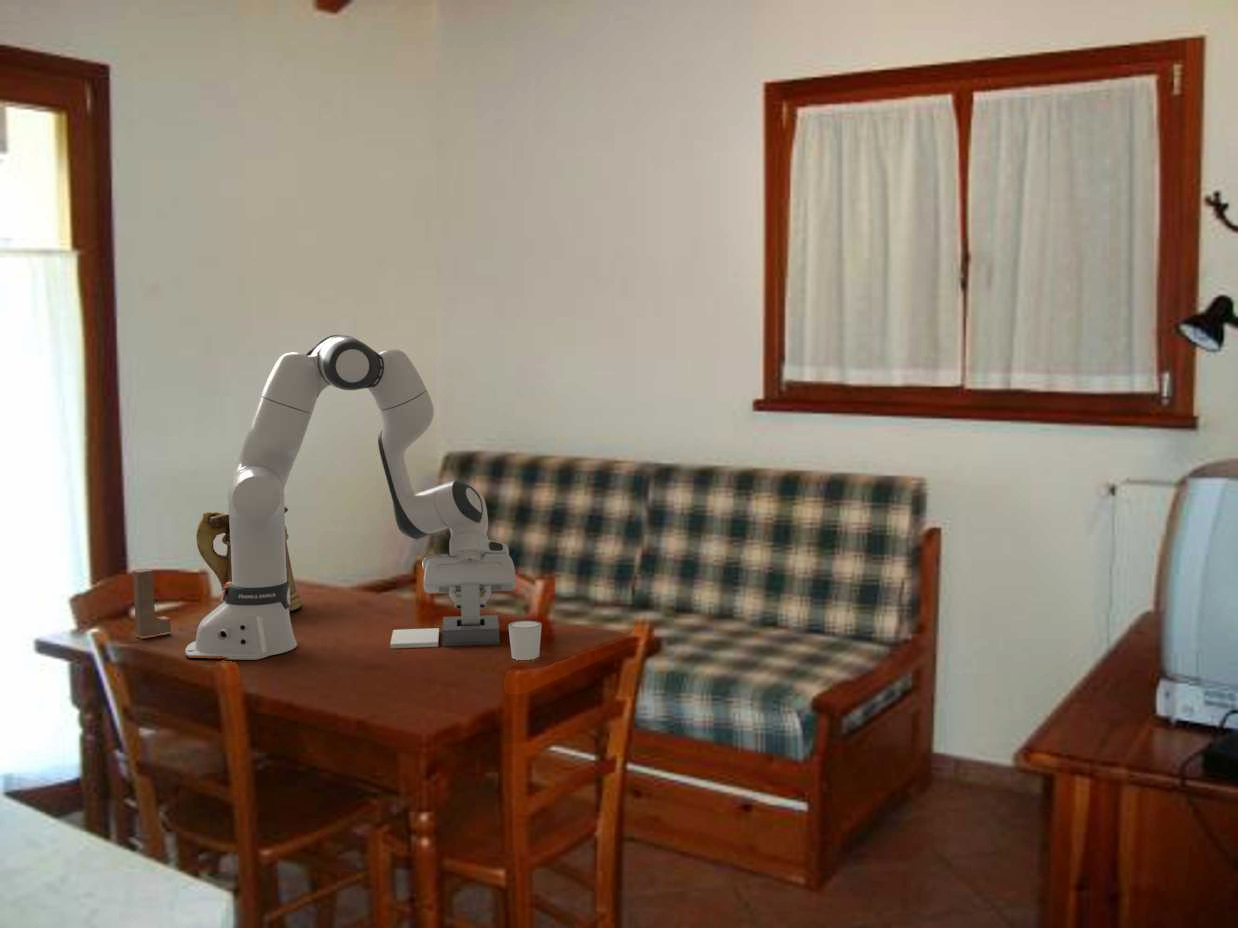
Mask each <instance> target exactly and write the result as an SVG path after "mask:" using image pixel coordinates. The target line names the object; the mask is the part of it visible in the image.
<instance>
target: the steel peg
mask: <svg viewBox="0 0 1238 928" xmlns="http://www.w3.org/2000/svg"><path fill="white" fill-rule="evenodd" d="M480 593H481V592H480V591H479V582H475V583H461V592H460V598H461V608H460V612H461V615H460V616H461V624H462V626H480V616H481V608H480V597H481V596H480Z"/></svg>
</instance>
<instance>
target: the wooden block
mask: <svg viewBox="0 0 1238 928" xmlns="http://www.w3.org/2000/svg"><path fill="white" fill-rule="evenodd" d="M153 572H154V571H153V570H152V569H150V568H147V567H146V568H141V569H140V568H139V569H134V570H132V580H133V581H132V582H133V597H134V600H133V601H134V616H135V617H134V619H135V634H136V633H137V634H138V635H139V636H149V635H156V634H160V633H165V632H172V631H171V619H170V617H167V616H165V615H163V616H157V615H156V611H155V609H156V607H155V591H154V587H155V586H154V573H153Z"/></svg>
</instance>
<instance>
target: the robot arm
mask: <svg viewBox="0 0 1238 928" xmlns="http://www.w3.org/2000/svg"><path fill="white" fill-rule="evenodd" d="M330 386H332V387H334V388H336V389H340V390H345V391H357V390H364V389H367V390H368V391H369V392H370V394H371V395H372V396H373V398H374V400H375V404H376V405H377V407H378V410H379V412H380V415H381V418H382V430H381V431H380V432H379V433H378V436H377V443H378V450H379V454H380V456H379V457H380V459H381V463H382V467H383V470H384V474H385V477H386V482H387V484H388V490H389V492H390V493H389V494H390V497H391V500H392V503H393V504H392V506H393V512H394V518H395V522H396V525H397V527H398V530H399V531H400V532H401V534H404V535H405V536H406V537H408V538H411V539H413V540H420V539H423V538H425V537H427V536H431V535H432V534H434V533H436V532H437V533H438V532H440V531H443V530H447V529H449V531H450V538H449V543H448V544H449V553H441V554H434V553H433V554H429V555H428V556H426V557H424V558H423V559H422V565H421V566H422V568H421V569H422V570H423V572H424V574H423V590H424V591H425V593H426V594H449V598H450V599H451V600H452V602H453V603H454V609H461V597H457V594H456V593H461V583H475V582H479V591H480V593H483V592H484V595H483V596H480V609H482V608H487V601H488V600H489V599H490V597H491V595H492V592H510V591H511V592H512V591H513V590H515V588H516V586H517V575H516V569H515V564H514V561H513V559H512V557H511V555H510V553H509V552H510V551H509V547H508V546H509V545H508V544H506V543H503V542H499V541H494V540H492V539H489V536H488V535H487V533H488V530H489V519H488V518H489V517H488V509H487V504H486V501H485V498H484V496H483V494H482V493H481V491H479V490H478V489H476V488H473V487H472V486H471V485H469V484H467V483H466V482H464V481H462V480H458V479H457V480H456V479H455V480H452V481H449V482H446V483H442V484H439V485H436V486H434V487H432V488H431V487H430V488H427V489H424V490H423V491H419V492H418V491H414V490H413V488H412V485H411V480H410V476H409V473H408V470H407V466H406V463H405V462H406V461H405V453H406V452H407V449H408V448H409V447H411V445H412V444H413V443H415V442H416V441H417V440H418V439H419V438H421V437H422V436H423V434H425V432H426V431H427V430H428V429H429V427H430V426H431V423H432V421H433V419H434V412H435V411H434V410H435V409H434V405H433V402H432V399H431V396H430V394H429V391H428V390H427V388H426V385H425V383H424V381H423V379H422V377H421V375H420V374H419V372H418V371H417V369H416V367H415V365H414V363H413V362H412V361H411V360H410V358H409V357H408V356H407V354H406V353H405V352H404V351H402V350H400V349H392V348H390V349H385V350H382V351H380V352H376V351H375V350H374V349H373V348H371V347H370V346H368V345H367V344H366V343H364V342H363V341H360V340H359V339H357V338H356V337H353V336H350V335H344V334H343V335H342V334H334V335H330V336H327V337H325V338H324V339H322V340H321V341H320V342H318V343H317V344H316V345H315V346H314V347H312V349H311V350H309V351H308V352H307V353H306V354H305V353H301V352H287V353H284V354H282V355H281V356H280V357H279V358H278V359H277V361H276V363H275V364H274V366H273V368H272V370H271V371H270V373H269V375H268V376H267V379H266V382H265V383H264V386H263V388H262V391H261V394H260V396H259V399H258V402H257V405H256V408H255V411H254V413H253V416H252V420H251V422H250V426H249V428H248V431H247V434H246V436H245V439H244V442H243V445H242V446H241V450H240V451H239V454H238V455H239V456H238V457H237V460H236V463H235V466H234V469H233V472H232V474H231V477H230V480H229V484H228V492H227V502H228V512H229V525H230V543H231V565H232V582H227V583H226V584H225V585H224V587H223V591H221V592H222V595H221V596H223V600H224V602H223V603H222V604H221V603H220V604H221V605H220V604H219V605H218V606H217V607H215V609H213V610H212V611H211V612H210V613H208V614H207V615H206V616H205V617H203V619H202V620H201V621H200V623H199V624H198V626H197V630H196V637H195V640H194V641H192V642H190V643H189V644H188V645H187V646H186V648H185V651H184V654H185V653H186V655H188V656H223V657H227V658H229V659H228V660H246V661H247V660H249V661H250V660H255V661H256V660H261V659H264V658H266V657H270V656H273V655H278V654H279V655H280V654H284V653H287V652H289V651H292V650H293V649H295V648H296V647H297V646H298V643H297V640H296V638H295V635H294V630H293V627H292V622H291V615H290V612H289V606H290V587H289V581H288V580H287V576H286V550H285V526H286V521H285V519H286V518H285V517H286V515H285V509H284V506H285V491H284V490H285V487H286V484H287V481H288V479H289V476H290V474H291V472H292V469H293V466H294V464H295V461H296V459H297V456H298V454H299V452H300V449H301V447H302V444H303V441H304V438H305V436H306V432H307V430H308V426H309V423H310V421H311V419H312V415H313V412H314V410H315V406H316V403H317V399H318V398H319V397H320V395H321V393H322V392H323V391H324V390H325V389H326V388H328V387H330Z"/></svg>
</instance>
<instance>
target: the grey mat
mask: <svg viewBox="0 0 1238 928" xmlns="http://www.w3.org/2000/svg"><path fill="white" fill-rule="evenodd" d="M391 634H392V635H391V640H390V643H389V644H390V649H407V648H410V649H411V648H413V649H414V648H438V647H439V637H440V628H439V627H438V628H434V627H433V628H407V629H406V628H404V629H393V630H392V633H391Z"/></svg>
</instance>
